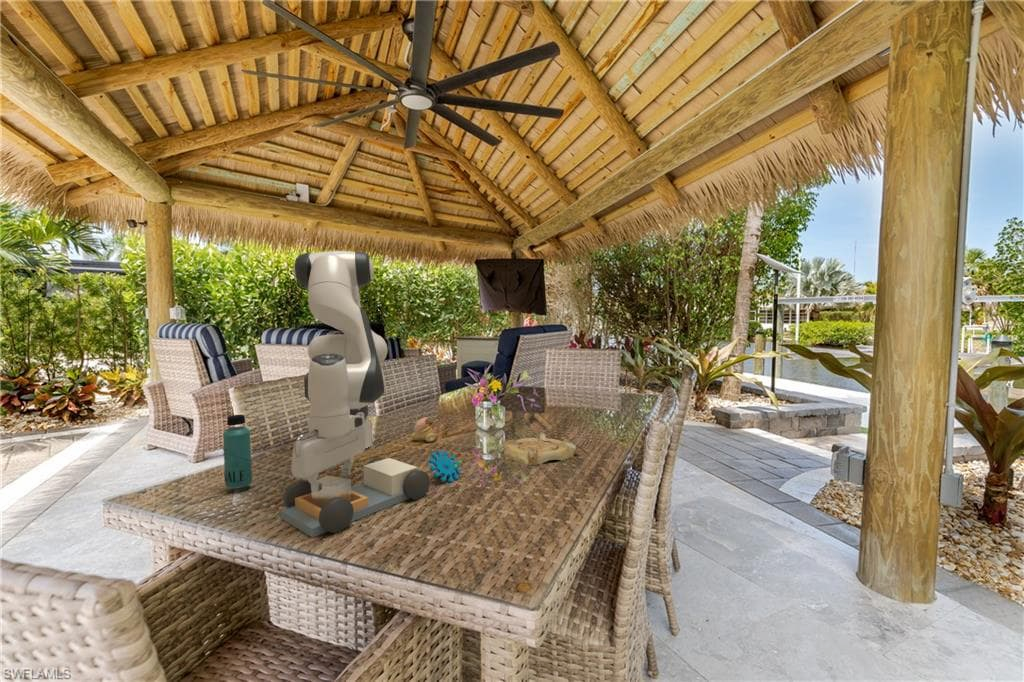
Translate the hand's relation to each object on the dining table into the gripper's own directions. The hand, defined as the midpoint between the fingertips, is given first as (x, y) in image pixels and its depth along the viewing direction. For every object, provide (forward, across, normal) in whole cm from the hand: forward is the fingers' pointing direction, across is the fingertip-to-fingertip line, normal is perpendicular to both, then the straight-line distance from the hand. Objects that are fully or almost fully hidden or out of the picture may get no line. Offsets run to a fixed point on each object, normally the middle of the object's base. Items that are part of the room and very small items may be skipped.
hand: (331, 483), depth 109 cm
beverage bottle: (+8, +2, +34) cm, 34 cm away
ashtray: (+8, +60, -31) cm, 69 cm away
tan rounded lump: (+8, +60, +12) cm, 62 cm away
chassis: (+7, +7, -2) cm, 10 cm away
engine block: (+5, 0, 0) cm, 5 cm away
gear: (+8, +30, -14) cm, 34 cm away
